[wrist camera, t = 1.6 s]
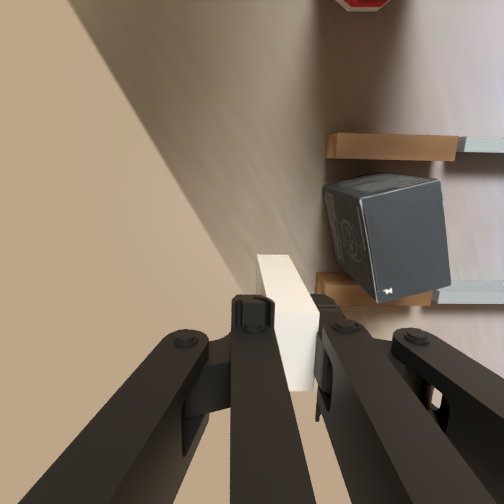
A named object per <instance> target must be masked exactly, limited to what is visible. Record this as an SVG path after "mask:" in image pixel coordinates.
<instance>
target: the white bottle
mask: <svg viewBox="0 0 504 504" xmlns="http://www.w3.org/2000/svg"><path fill="white" fill-rule="evenodd" d="M335 1H336V2H337V3H339V4H340V5H341V6H342V7H343V8H344V9H345V10H347V11H378V10H379V9H380V8H381V7H383V6H384V5H385V4H386V3H388V2H389V1H390V0H335Z"/></svg>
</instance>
